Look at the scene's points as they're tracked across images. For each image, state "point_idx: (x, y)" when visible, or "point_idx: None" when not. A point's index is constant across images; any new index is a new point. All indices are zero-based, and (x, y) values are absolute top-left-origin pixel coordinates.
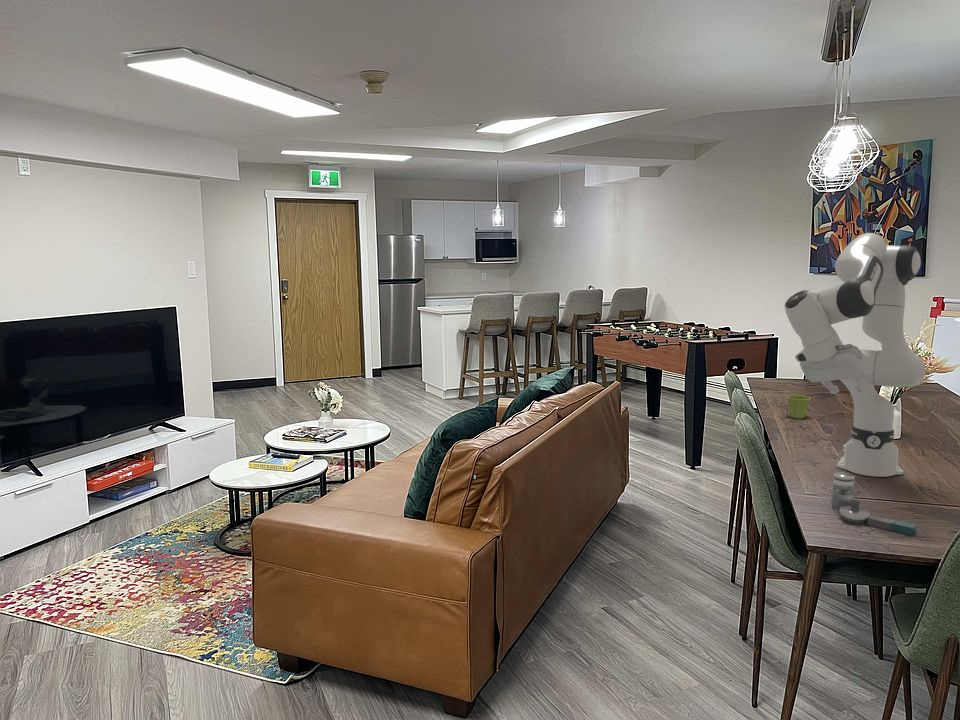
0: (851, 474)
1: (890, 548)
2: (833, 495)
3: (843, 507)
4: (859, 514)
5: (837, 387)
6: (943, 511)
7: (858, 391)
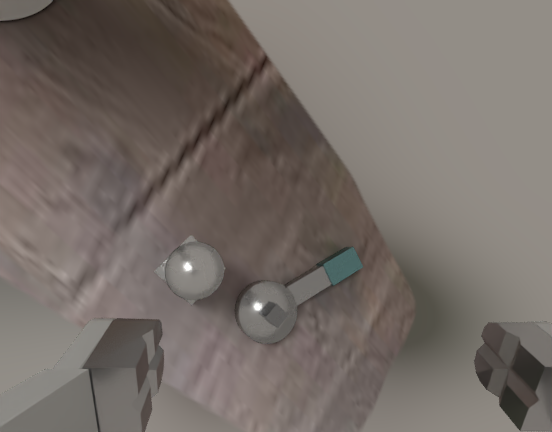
0: (200, 245)
1: (382, 351)
2: (192, 303)
3: (244, 321)
4: (288, 319)
5: (144, 355)
6: (286, 101)
7: (486, 382)
